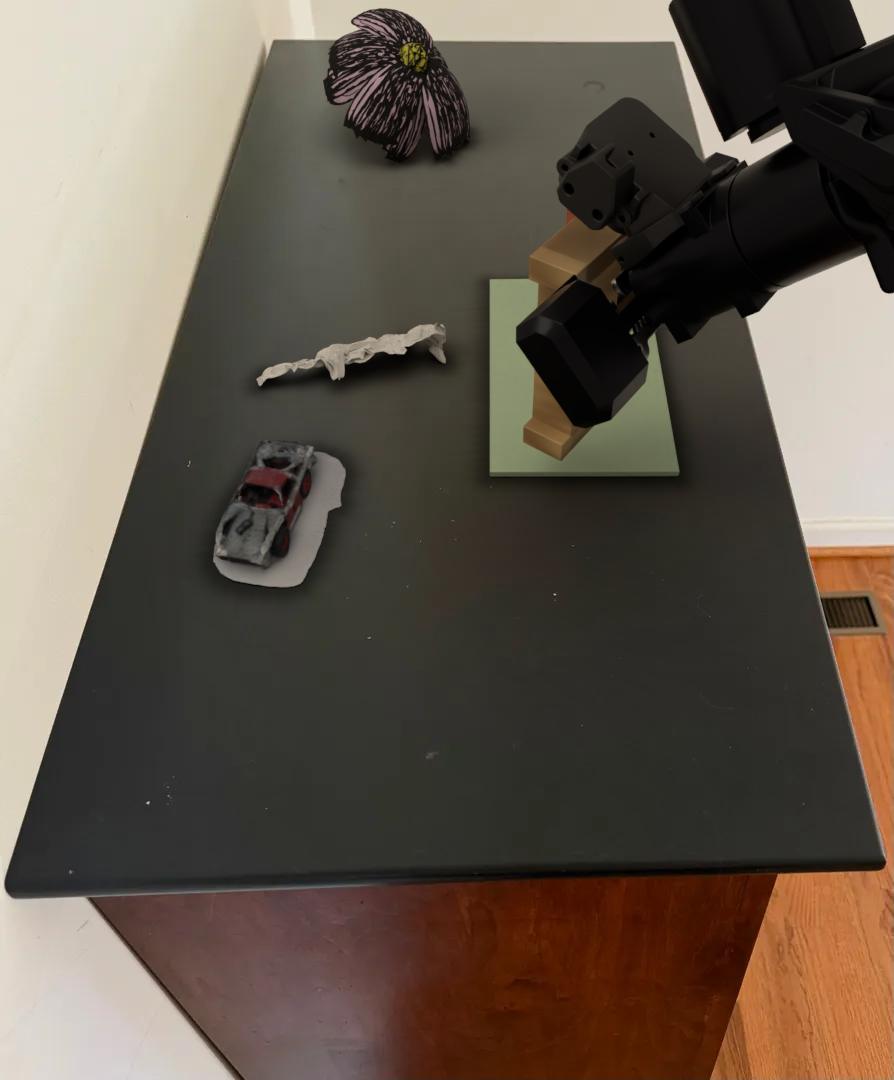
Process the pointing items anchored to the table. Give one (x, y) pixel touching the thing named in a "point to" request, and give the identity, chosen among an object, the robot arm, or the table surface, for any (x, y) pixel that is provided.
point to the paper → (365, 351)
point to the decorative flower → (396, 86)
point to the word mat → (608, 448)
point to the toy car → (278, 514)
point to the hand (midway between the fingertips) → (555, 331)
